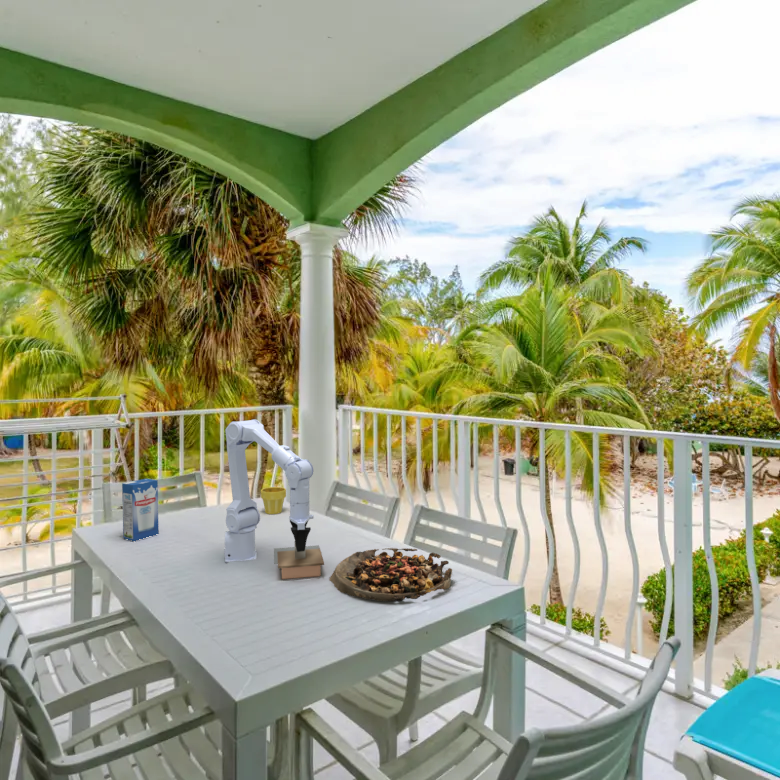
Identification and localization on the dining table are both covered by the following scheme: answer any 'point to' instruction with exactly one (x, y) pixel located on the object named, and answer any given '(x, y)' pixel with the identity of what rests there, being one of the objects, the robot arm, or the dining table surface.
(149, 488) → the milk carton
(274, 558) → the mat
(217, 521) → the dining table surface
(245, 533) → the robot arm
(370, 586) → the food dish
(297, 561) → the lid
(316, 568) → the pink shallow tray
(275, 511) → the plant pot
